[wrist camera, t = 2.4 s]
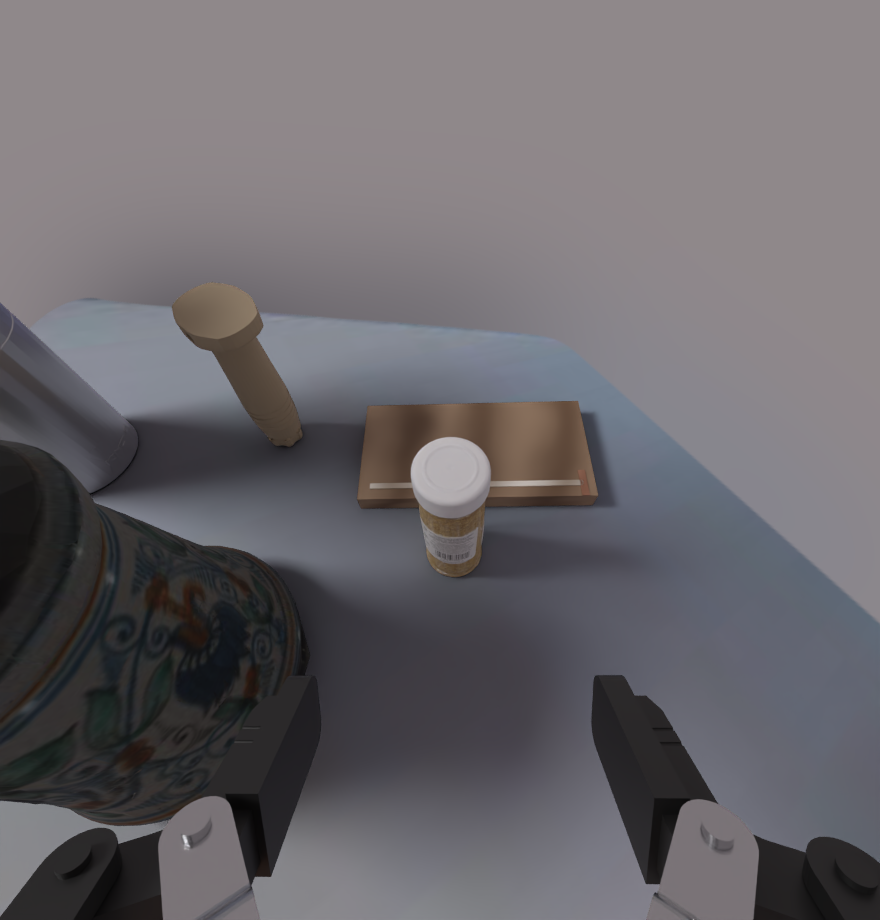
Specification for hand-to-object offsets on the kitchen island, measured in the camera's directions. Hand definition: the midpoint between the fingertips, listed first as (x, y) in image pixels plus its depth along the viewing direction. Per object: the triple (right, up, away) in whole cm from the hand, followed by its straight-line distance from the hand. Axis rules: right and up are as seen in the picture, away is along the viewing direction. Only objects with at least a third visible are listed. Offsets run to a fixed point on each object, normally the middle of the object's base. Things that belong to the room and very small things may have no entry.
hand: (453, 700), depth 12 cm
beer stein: (-19, -9, +19) cm, 29 cm away
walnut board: (+3, +7, +28) cm, 29 cm away
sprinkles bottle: (+1, -1, +23) cm, 23 cm away
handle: (-15, +9, +30) cm, 35 cm away
